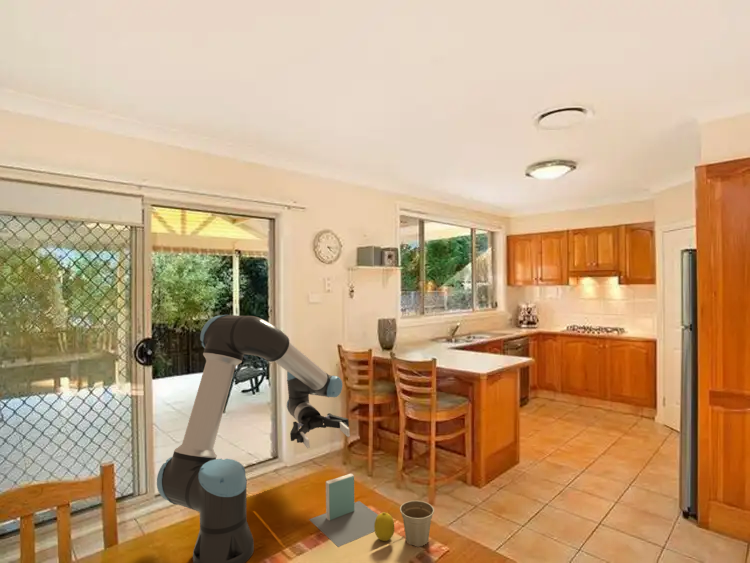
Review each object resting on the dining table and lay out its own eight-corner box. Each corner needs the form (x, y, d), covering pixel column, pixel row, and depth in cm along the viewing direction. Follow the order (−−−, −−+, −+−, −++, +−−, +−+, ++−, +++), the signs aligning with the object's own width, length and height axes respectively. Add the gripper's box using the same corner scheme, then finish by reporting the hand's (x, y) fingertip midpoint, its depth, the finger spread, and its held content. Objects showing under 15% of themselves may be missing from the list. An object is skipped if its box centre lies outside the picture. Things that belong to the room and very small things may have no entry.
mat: (338, 549, 116) (338, 546, 116) (309, 521, 130) (309, 519, 130) (391, 526, 127) (391, 524, 127) (359, 502, 141) (359, 500, 141)
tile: (329, 521, 129) (329, 483, 129) (326, 518, 131) (325, 481, 131) (355, 511, 134) (354, 475, 134) (351, 508, 136) (351, 473, 136)
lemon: (392, 548, 116) (392, 518, 116) (372, 546, 117) (372, 516, 117) (396, 536, 122) (395, 508, 122) (376, 534, 123) (376, 506, 123)
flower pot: (441, 540, 120) (441, 509, 120) (419, 555, 113) (418, 522, 113) (415, 526, 127) (415, 497, 127) (393, 540, 120) (392, 509, 120)
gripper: (340, 418, 162) (365, 439, 143) (273, 435, 151) (291, 460, 132) (339, 398, 161) (363, 417, 142) (272, 414, 150) (289, 436, 131)
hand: (328, 438), depth 137 cm, fingers open, 13 cm apart
